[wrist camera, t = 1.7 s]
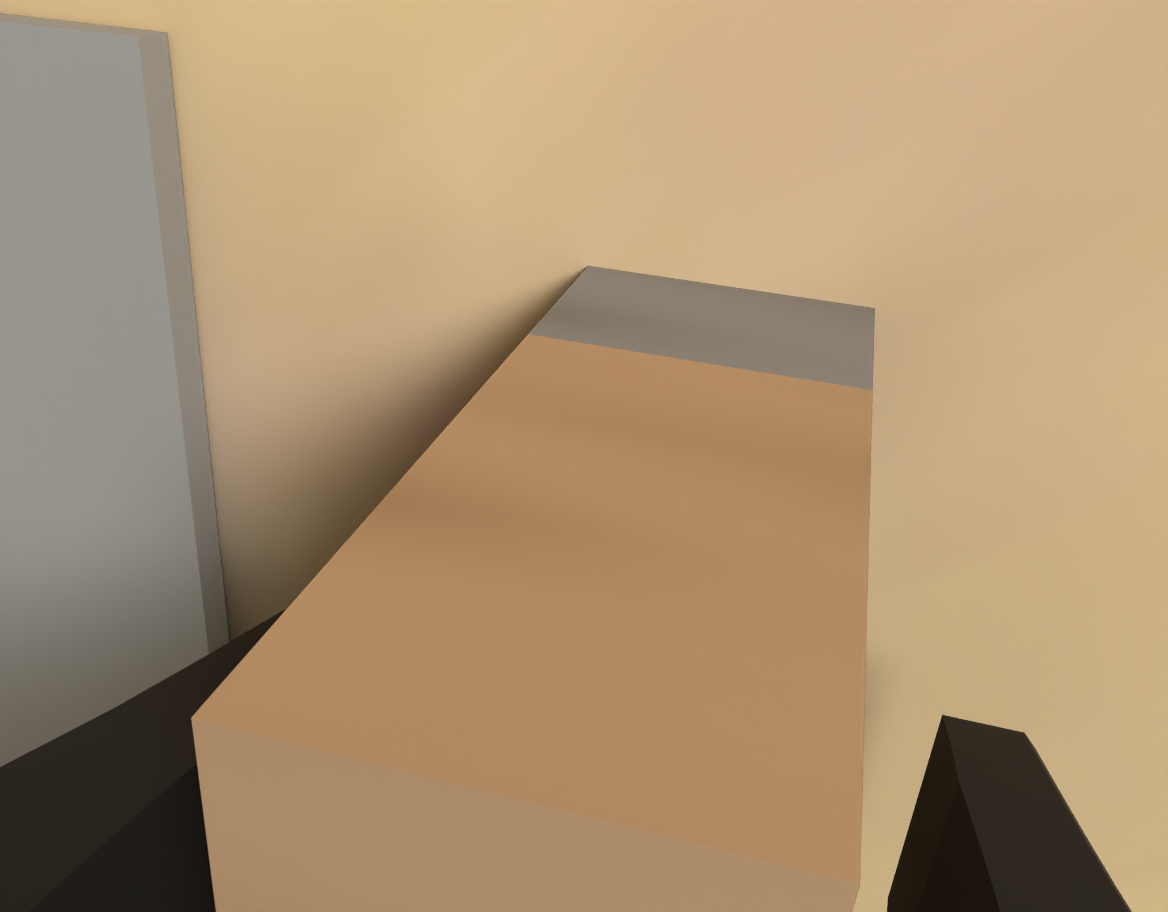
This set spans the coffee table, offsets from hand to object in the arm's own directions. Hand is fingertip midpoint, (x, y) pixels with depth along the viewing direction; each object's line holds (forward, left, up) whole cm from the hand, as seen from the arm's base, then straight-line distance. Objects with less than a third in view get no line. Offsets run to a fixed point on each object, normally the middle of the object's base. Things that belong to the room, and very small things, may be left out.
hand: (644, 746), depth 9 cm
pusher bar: (0, 0, -2) cm, 2 cm away
